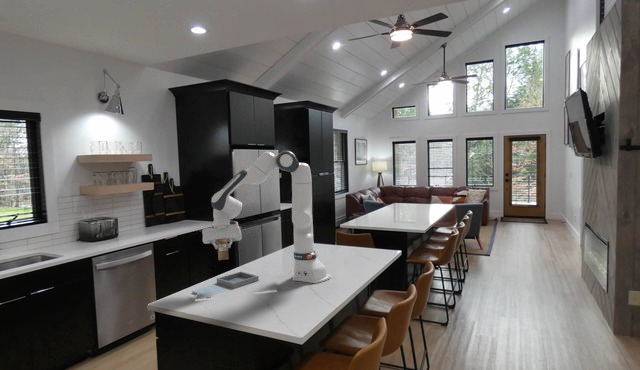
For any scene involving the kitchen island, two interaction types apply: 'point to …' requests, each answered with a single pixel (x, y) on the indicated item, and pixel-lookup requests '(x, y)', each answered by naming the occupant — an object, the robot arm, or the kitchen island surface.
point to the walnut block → (222, 249)
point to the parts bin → (237, 279)
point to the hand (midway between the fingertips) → (222, 247)
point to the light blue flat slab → (209, 290)
